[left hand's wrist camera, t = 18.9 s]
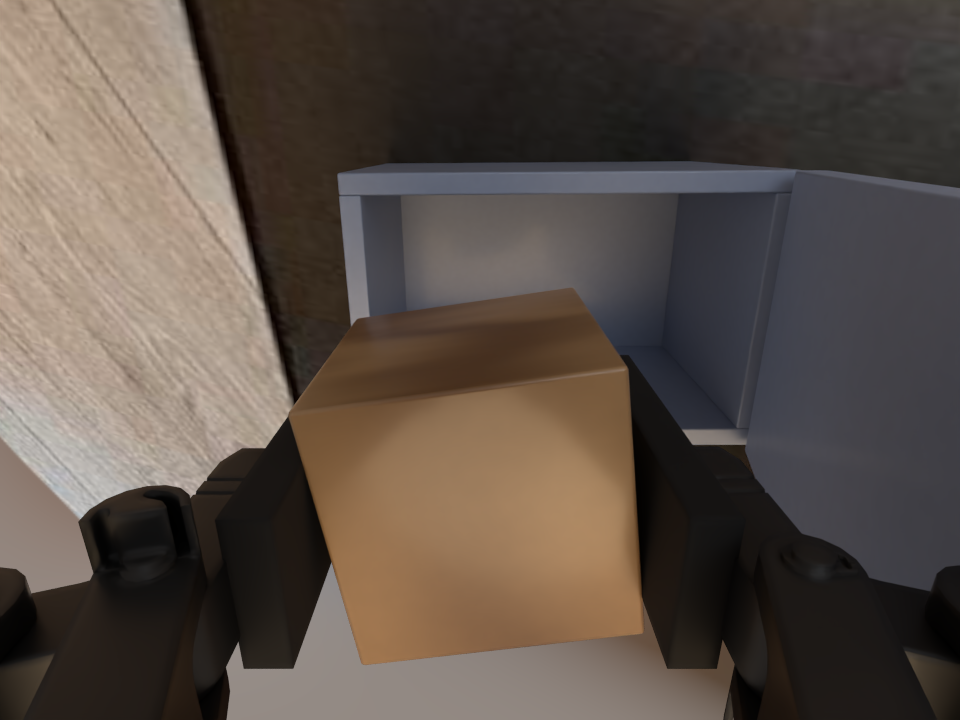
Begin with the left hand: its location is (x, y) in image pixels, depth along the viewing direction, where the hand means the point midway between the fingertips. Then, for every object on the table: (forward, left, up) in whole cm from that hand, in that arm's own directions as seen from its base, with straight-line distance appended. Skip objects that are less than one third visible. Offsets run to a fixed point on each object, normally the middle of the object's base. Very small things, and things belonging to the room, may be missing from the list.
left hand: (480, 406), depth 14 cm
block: (0, 0, 0) cm, 0 cm away
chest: (+3, +1, -19) cm, 19 cm away
